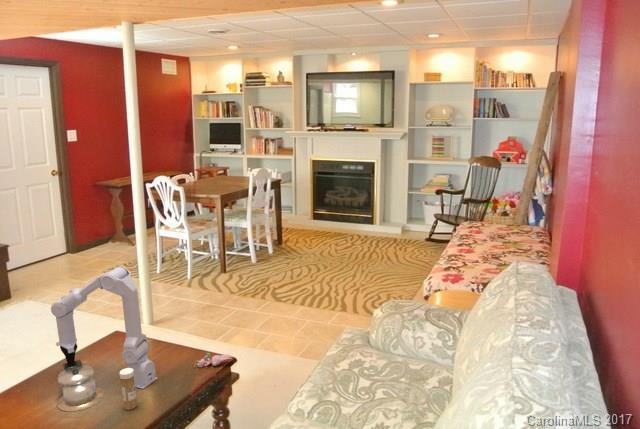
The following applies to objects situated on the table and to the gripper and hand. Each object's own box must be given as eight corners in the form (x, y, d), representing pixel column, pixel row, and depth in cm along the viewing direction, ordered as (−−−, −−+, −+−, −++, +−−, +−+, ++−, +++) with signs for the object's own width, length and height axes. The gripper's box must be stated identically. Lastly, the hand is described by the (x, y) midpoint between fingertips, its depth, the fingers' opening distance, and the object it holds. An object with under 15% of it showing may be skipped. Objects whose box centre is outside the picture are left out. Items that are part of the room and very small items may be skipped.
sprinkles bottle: (136, 409, 171) (132, 373, 168) (122, 411, 170) (118, 375, 167) (138, 401, 176) (134, 366, 173) (124, 403, 175) (120, 368, 172)
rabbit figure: (194, 373, 196) (232, 365, 197) (190, 360, 195) (229, 351, 196) (197, 365, 202) (233, 357, 203) (193, 352, 201) (230, 344, 202)
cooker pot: (107, 401, 176) (105, 387, 175) (60, 417, 168) (57, 402, 167) (99, 383, 188) (97, 369, 187) (54, 396, 180) (52, 382, 179)
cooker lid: (96, 379, 180) (95, 372, 180) (60, 389, 174) (59, 383, 173) (88, 362, 193) (88, 356, 192) (55, 371, 186) (54, 365, 186)
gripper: (52, 326, 193) (56, 358, 196) (56, 339, 181) (61, 374, 184) (72, 321, 197) (76, 353, 199) (78, 334, 185) (82, 368, 188)
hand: (71, 363), depth 192 cm, fingers closed
